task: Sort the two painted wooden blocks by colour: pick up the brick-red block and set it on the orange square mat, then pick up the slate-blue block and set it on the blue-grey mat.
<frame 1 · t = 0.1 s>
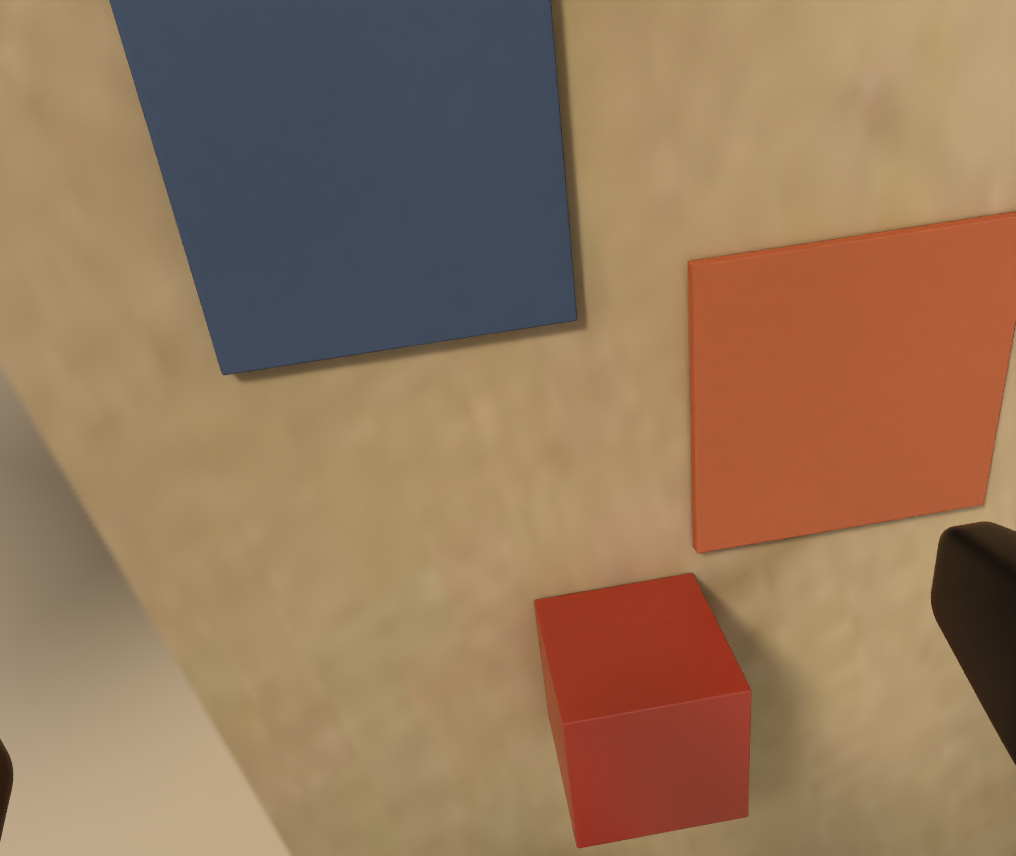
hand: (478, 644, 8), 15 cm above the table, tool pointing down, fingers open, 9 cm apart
orange square mat: (846, 391, 25), on the table
blue mat: (367, 163, 20), on the table
red block: (618, 647, 28), on the table
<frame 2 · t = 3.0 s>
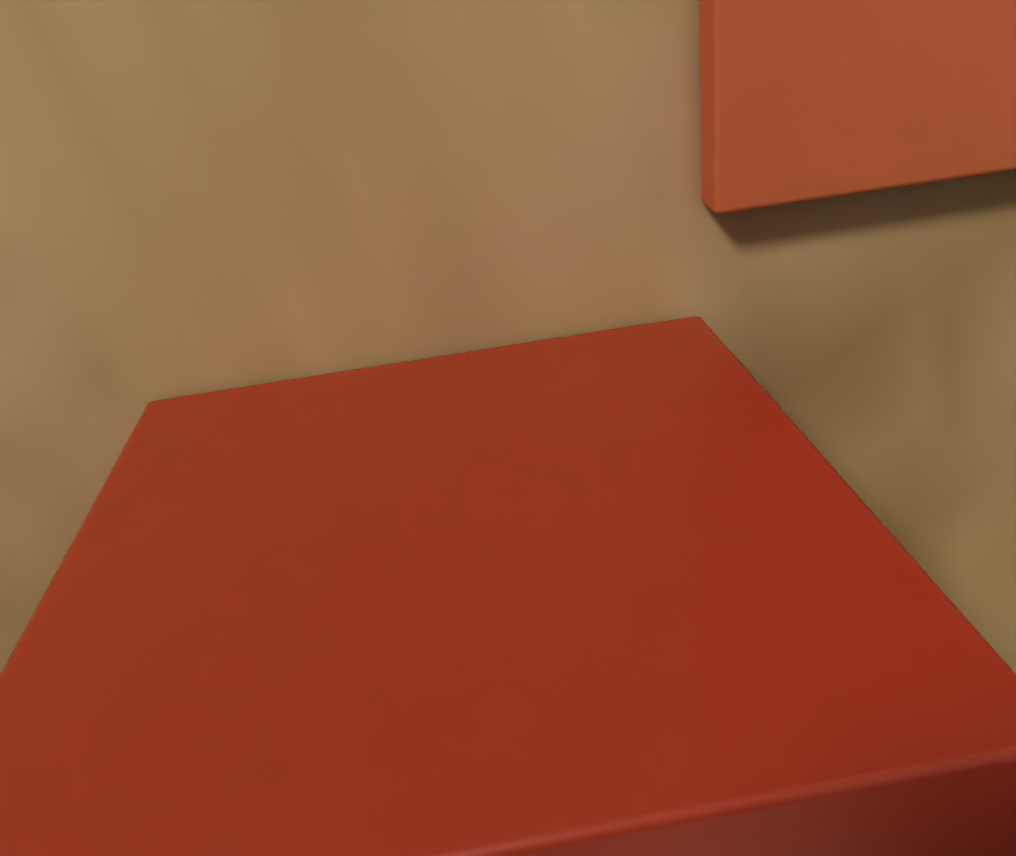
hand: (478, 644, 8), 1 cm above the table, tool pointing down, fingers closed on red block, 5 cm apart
red block: (466, 576, 9), on the table, touching gripper
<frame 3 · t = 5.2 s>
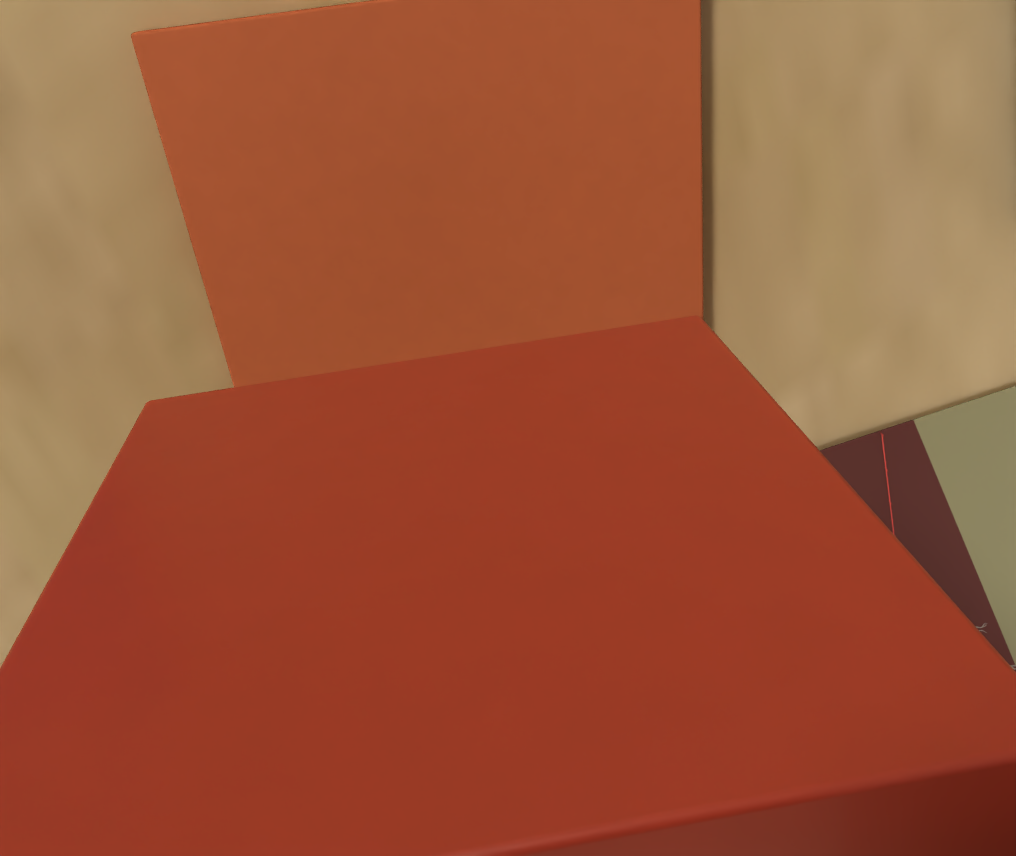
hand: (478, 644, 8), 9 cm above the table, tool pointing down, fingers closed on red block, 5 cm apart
orange square mat: (459, 264, 16), on the table
red block: (465, 576, 9), point 8 cm above the table, touching gripper
when the fingers open (1 cm above the table, at t = 7.5 s): red block stays where it is, resting on orange square mat.
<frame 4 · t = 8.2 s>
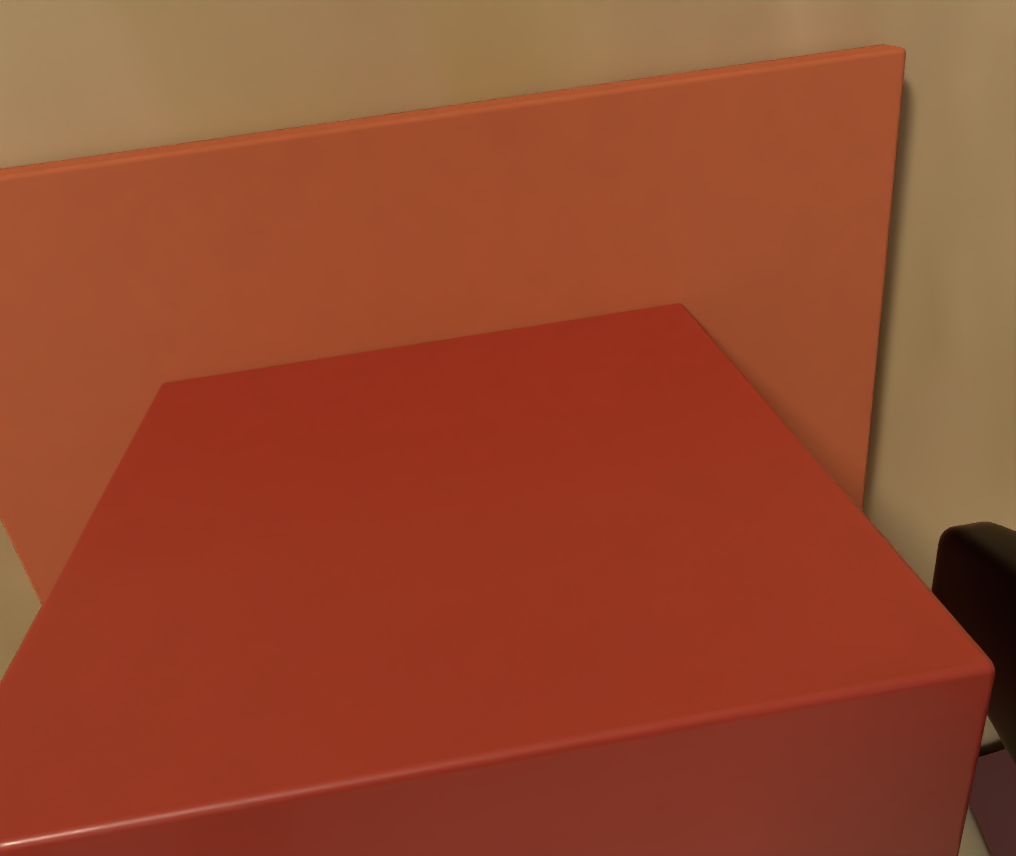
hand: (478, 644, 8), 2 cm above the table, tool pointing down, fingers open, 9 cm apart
orange square mat: (464, 529, 10), on the table
red block: (462, 552, 9), resting on orange square mat
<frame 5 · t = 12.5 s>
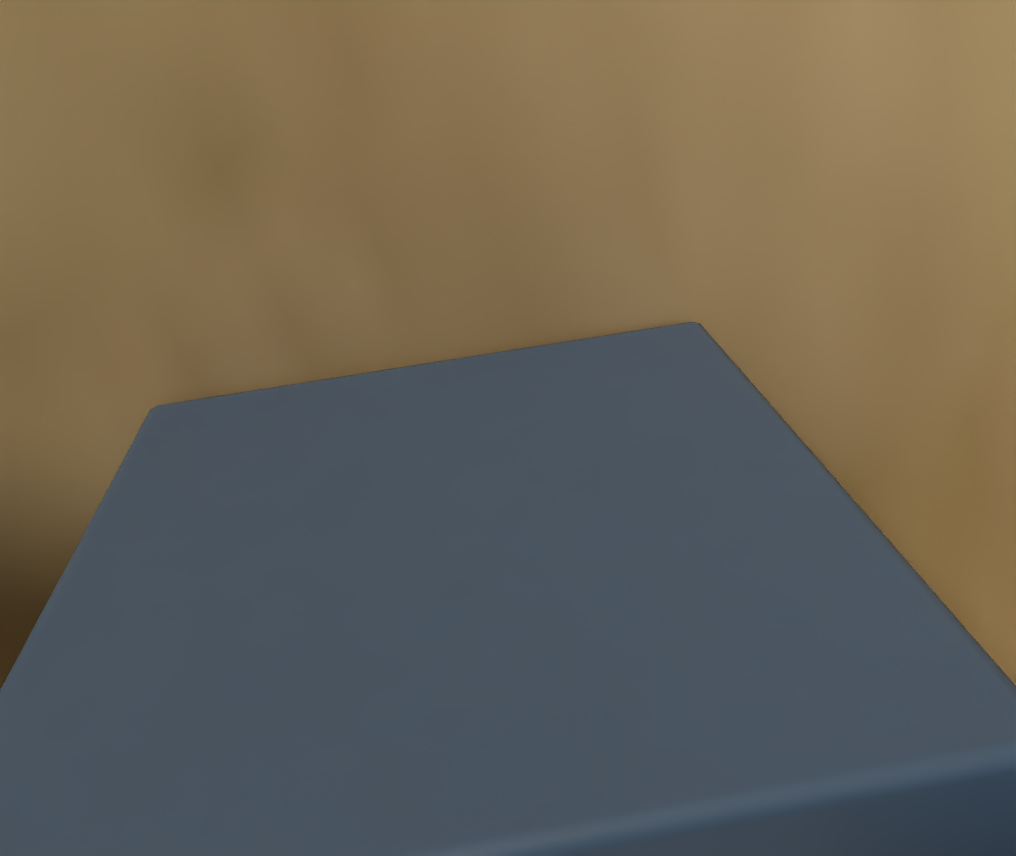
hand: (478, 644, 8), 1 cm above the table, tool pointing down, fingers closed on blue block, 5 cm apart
blue block: (466, 578, 9), on the table, touching gripper
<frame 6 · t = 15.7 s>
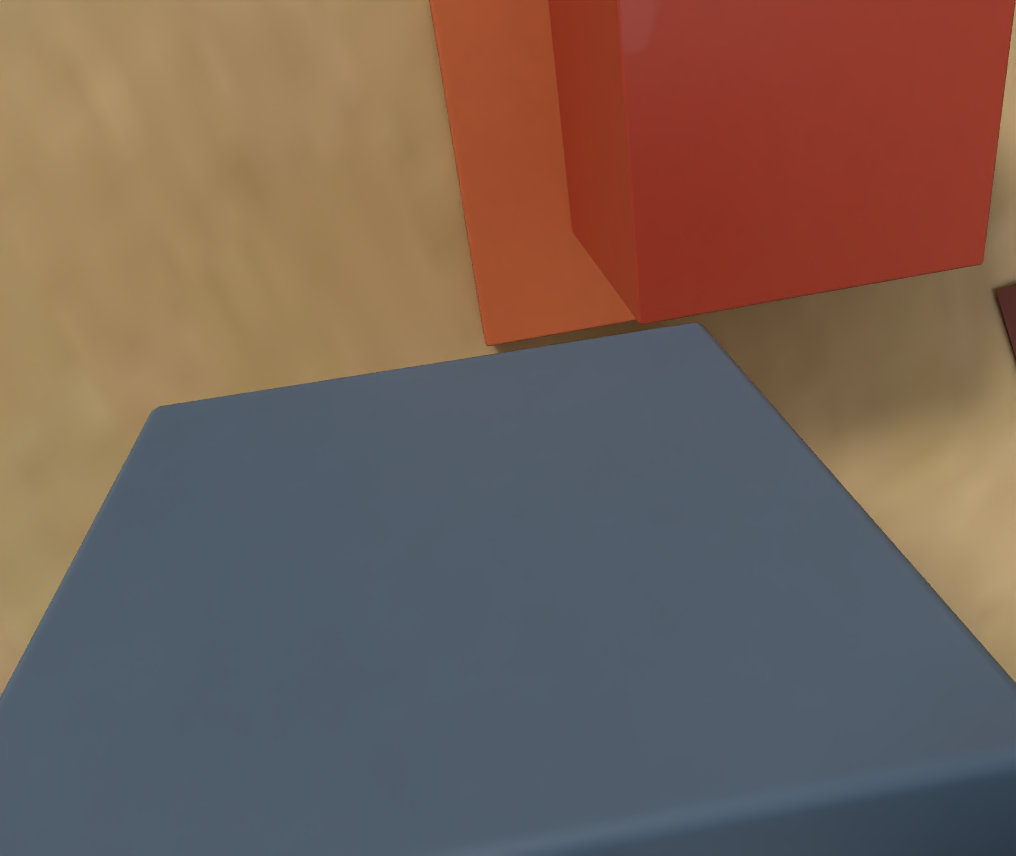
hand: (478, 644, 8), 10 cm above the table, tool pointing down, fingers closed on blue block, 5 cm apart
orange square mat: (691, 68, 16), on the table
blue block: (468, 579, 9), point 9 cm above the table, touching gripper
red block: (695, 71, 15), resting on orange square mat
when the fingers open (1 cm above the table, at t = 19.2 s): blue block stays where it is, resting on blue mat.
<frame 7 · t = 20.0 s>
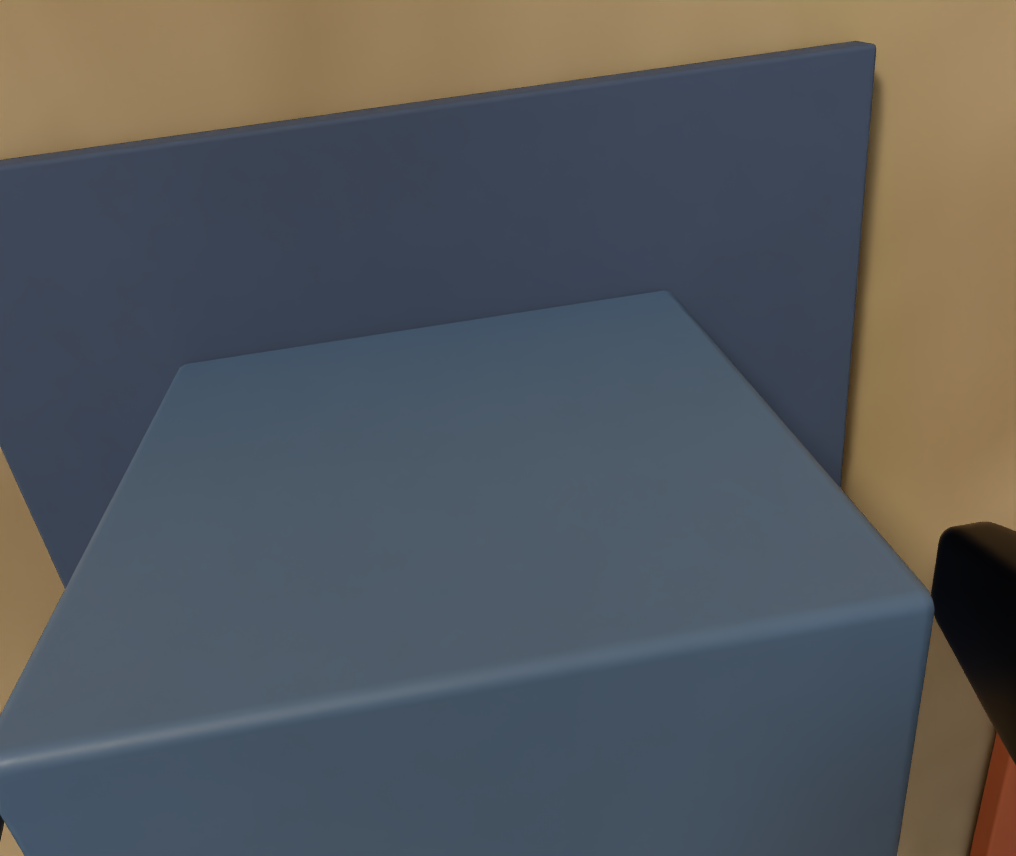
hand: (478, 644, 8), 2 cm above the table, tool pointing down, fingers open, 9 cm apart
blue mat: (460, 504, 10), on the table
blue block: (462, 526, 10), resting on blue mat
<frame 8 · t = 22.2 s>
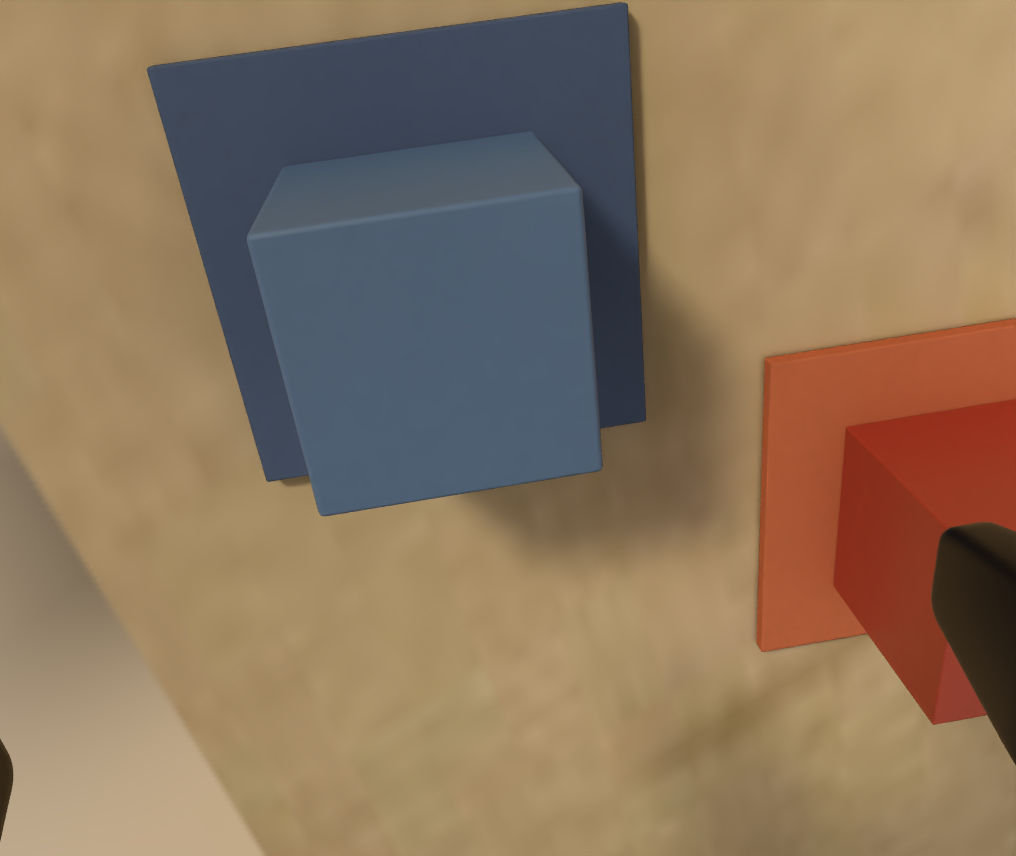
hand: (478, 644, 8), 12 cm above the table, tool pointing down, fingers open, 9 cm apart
orange square mat: (924, 486, 23), on the table
blue mat: (427, 262, 19), on the table
blue block: (428, 269, 18), resting on blue mat
red block: (931, 494, 23), resting on orange square mat
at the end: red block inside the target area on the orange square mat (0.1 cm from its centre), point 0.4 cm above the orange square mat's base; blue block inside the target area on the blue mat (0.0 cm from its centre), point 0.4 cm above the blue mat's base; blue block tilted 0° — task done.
